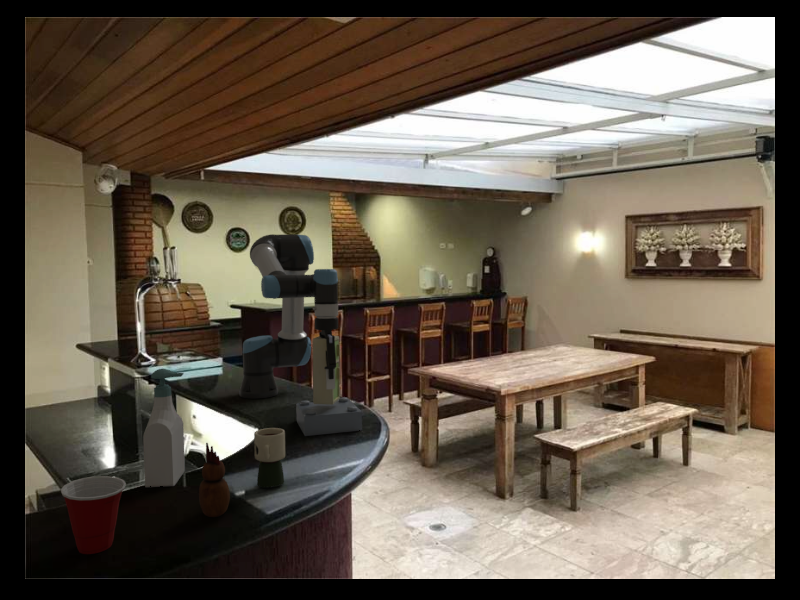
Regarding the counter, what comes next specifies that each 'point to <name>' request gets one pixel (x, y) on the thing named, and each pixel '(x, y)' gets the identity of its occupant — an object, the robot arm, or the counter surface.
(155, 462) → the white spray bottle
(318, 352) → the toy refrigerator
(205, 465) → the wooden figurine
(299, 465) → the counter surface
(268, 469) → the character mug
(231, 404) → the counter surface
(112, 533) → the plastic cup
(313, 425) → the base brick
